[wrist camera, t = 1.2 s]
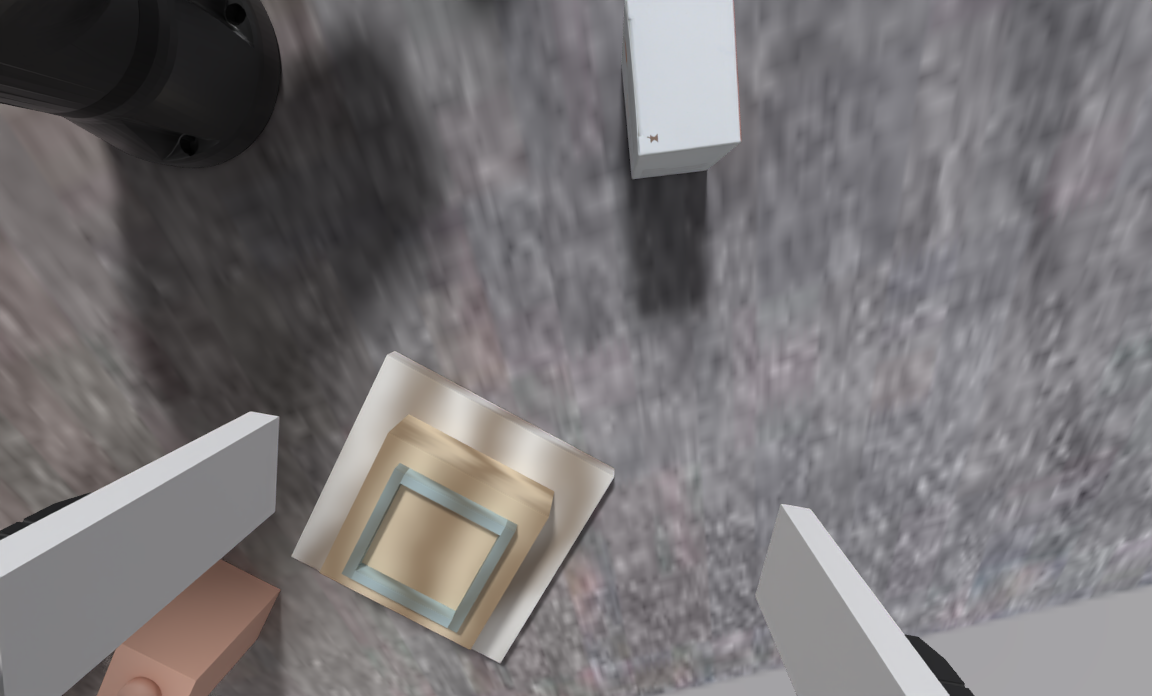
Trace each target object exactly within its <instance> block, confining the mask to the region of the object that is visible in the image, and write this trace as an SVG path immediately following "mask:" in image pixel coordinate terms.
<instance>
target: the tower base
mask: <svg viewBox="0 0 1152 696" xmlns="http://www.w3.org/2000/svg"><path fill="white" fill-rule="evenodd" d="M613 478H614V468H612V467H610V466H608V465H607V464H605V463H603V462H601V461H599V460H597V459H595V458H594V457H592V456H590V455H588V454H586V453H584V452H582V451H580V450H579V449H577V448H575V447H573V446H571V445H569V444H567V443H566V442H564V441H562V440H560V439H558V438H556V437H554V436H553V435H551V434H549V433H547V432H545V431H543V430H541V429H539V428H538V427H536V426H534V425H532V424H530V423H528V422H526V421H525V420H523V419H521V418H519V417H517V416H515V415H513V414H512V413H510V412H508V411H506V410H504V409H502V408H500V407H498V406H497V405H495V404H493V403H491V402H489V401H487V400H485V399H484V398H482V397H480V396H478V395H476V394H474V393H472V392H471V391H469V390H467V389H465V388H463V387H461V386H459V385H457V384H456V383H454V382H452V381H450V380H448V379H446V378H444V377H443V376H441V375H439V374H437V373H435V372H433V371H431V370H430V369H428V368H426V367H424V366H422V365H420V364H418V363H416V362H415V361H413V360H411V359H409V358H407V357H405V356H403V355H402V354H400V353H398V352H396V351H394V352H392V353H390V354H388V355H387V356H386V358H385V360H384V363H383V365H382V367H381V369H380V371H379V373H378V375H377V377H376V379H375V381H374V384H373V386H372V388H371V390H370V392H369V394H368V396H367V398H366V400H365V402H364V405H363V407H362V409H361V411H360V413H359V415H358V417H357V419H356V421H355V423H354V426H353V428H352V430H351V432H350V434H349V436H348V438H347V440H346V442H345V444H344V447H343V449H342V451H341V453H340V455H339V457H338V459H337V461H336V463H335V466H334V468H333V470H332V472H331V474H330V476H329V478H328V480H327V482H326V484H325V487H324V489H323V491H322V493H321V495H320V497H319V499H318V501H317V503H316V505H315V508H314V510H313V512H312V514H311V516H310V518H309V520H308V522H307V524H306V526H305V529H304V531H303V533H302V535H301V537H300V539H299V541H298V543H297V545H296V547H295V550H294V552H293V554H292V556H291V557H293V558H295V559H297V560H299V561H301V562H303V563H305V564H307V565H309V566H311V567H313V568H315V569H317V570H319V571H320V572H319V573H321V574H323V575H325V576H327V577H328V578H330V579H332V580H334V581H336V582H338V583H340V584H342V585H344V586H346V587H348V588H350V589H352V590H354V591H356V592H358V593H360V594H362V595H364V596H366V597H368V598H370V599H372V600H373V601H375V602H377V603H379V604H381V605H383V606H385V607H387V608H389V609H391V610H393V611H395V612H397V613H399V614H401V615H403V616H405V617H407V618H409V619H411V620H413V621H415V622H417V623H418V624H420V625H422V626H424V627H426V628H428V629H430V630H432V631H434V632H436V633H438V634H440V635H442V636H444V637H446V638H448V639H450V640H452V641H454V642H456V643H458V644H460V645H462V646H463V647H465V648H467V649H469V650H471V649H473V650H475V651H477V652H479V653H481V654H483V655H485V656H487V657H489V658H491V659H493V660H495V661H497V662H499V663H501V661H502V660H503V658H504V656H505V655H506V653H507V651H508V650H509V648H510V646H511V645H512V643H513V642H514V640H515V638H516V637H517V635H518V633H519V632H520V630H521V628H522V627H523V625H524V624H525V622H526V620H527V619H528V617H529V615H530V614H531V612H532V611H533V609H534V607H535V606H536V604H537V602H538V601H539V599H540V597H541V596H542V594H543V593H544V591H545V589H546V588H547V586H548V584H549V583H550V581H551V579H552V578H553V576H554V575H555V573H556V571H557V570H558V568H559V566H560V565H561V563H562V561H563V560H564V558H565V557H566V555H567V553H568V552H569V550H570V548H571V547H572V545H573V543H574V542H575V540H576V539H577V537H578V535H579V534H580V532H581V530H582V529H583V527H584V525H585V524H586V522H587V521H588V519H589V517H590V516H591V514H592V512H593V511H594V509H595V507H596V506H597V504H598V503H599V501H600V499H601V498H602V496H603V494H604V493H605V491H606V489H607V488H608V486H609V485H610V483H611V481H612V480H613Z"/></svg>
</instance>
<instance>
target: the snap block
mask: <svg viewBox="0 0 1152 696" xmlns="http://www.w3.org/2000/svg"><path fill="white" fill-rule="evenodd" d="M279 592H280V589H278V588H276V587H274V586H272V585H270V584H268V583H266V582H264V581H262V580H260V579H258V578H257V577H255V576H253V575H251V574H249V573H247V572H245V571H243V570H241V569H239V568H237V567H235V566H233V565H231V564H229V563H227V562H225V561H223V560H221V559H220V560H218V561H217V562H216V563H215V564H214V565H213V566H212V567H210V568H209V569H208V570H207V571H206V572H205V573H203V574H202V575H201V576H200V577H199V578H198V579H196V580H195V581H194V582H193V583H192V584H191V585H189V586H188V587H187V588H186V589H185V590H184V591H183V592H181V593H180V594H179V595H178V596H177V597H176V598H174V599H173V600H172V601H171V602H170V603H169V604H167V605H166V606H165V607H164V608H163V609H162V610H160V611H159V612H158V613H157V614H156V615H155V616H153V617H152V618H151V619H150V620H149V621H148V622H147V623H145V624H144V625H143V626H142V627H141V628H140V629H138V630H137V631H136V632H135V633H134V634H133V635H131V636H130V637H129V638H128V639H127V640H126V641H124V642H123V643H122V644H121V645H120V646H119V647H118V648H116V650H115V652H114V655H113V657H112V660H111V662H110V665H109V667H108V669H107V672H106V674H105V677H104V679H103V682H102V684H101V687H100V689H99V692H98V694H97V696H208V695H209V694H210V693H211V691H212V690H213V689H214V688H215V687H216V686H217V685H218V683H219V682H220V681H221V680H222V679H223V678H224V677H225V675H226V674H227V673H228V672H229V671H230V670H231V669H232V667H233V666H234V665H235V664H236V663H237V662H238V661H239V659H240V658H241V657H242V656H243V655H244V654H245V653H246V651H247V650H248V649H249V648H250V647H251V646H252V645H253V643H254V642H255V641H256V640H257V638H258V636H259V634H260V632H261V630H262V628H263V626H264V623H265V621H266V619H267V617H268V615H269V613H270V611H271V609H272V607H273V605H274V603H275V601H276V598H277V596H278V594H279Z"/></svg>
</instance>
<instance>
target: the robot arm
mask: <svg viewBox="0 0 1152 696" xmlns="http://www.w3.org/2000/svg"><path fill="white" fill-rule="evenodd" d="M279 78H280V62H279V52H278V46H277V41H276V37H275V34H274V30H273V27H272V24H271V22H270V19H269V17H268V15H267V12H266V10H265V8H264V6H263V5H262V3H261V1H260V0H0V103H2V104H7V105H12V106H16V107H21V108H26V109H31V110H36V111H41V112H45V113H50V114H54V115H58V116H62V117H64V118H66V119H67V120H69V121H71V122H73V123H74V124H76V125H78V126H80V127H81V128H83V129H85V130H87V131H88V132H90V133H92V134H94V135H95V136H97V137H99V138H101V139H102V140H104V141H106V142H108V143H109V144H111V145H113V146H115V147H116V148H118V149H120V150H122V151H124V152H126V153H128V154H130V155H133V156H135V157H138V158H141V159H144V160H147V161H151V162H155V163H160V164H166V165H172V166H178V167H186V168H200V167H208V166H213V165H217V164H220V163H222V162H225V161H227V160H229V159H231V158H233V157H235V156H237V155H238V154H240V153H241V152H243V151H244V150H245V149H246V148H247V147H249V146H250V145H251V144H252V143H253V142H254V140H255V139H256V138H257V137H258V136H259V134H260V133H261V132H262V130H263V129H264V127H265V125H266V124H267V122H268V120H269V118H270V116H271V113H272V111H273V108H274V105H275V102H276V98H277V93H278V88H279ZM278 435H279V416H274V415H268V414H262V413H257V412H251V411H250V412H248V413H246V414H244V415H242V416H240V417H239V418H237V419H235V420H233V421H231V422H229V423H227V424H225V425H223V426H221V427H219V428H217V429H215V430H213V431H211V432H209V433H208V434H206V435H204V436H202V437H200V438H198V439H196V440H194V441H192V442H190V443H188V444H186V445H184V446H182V447H180V448H178V449H176V450H175V451H173V452H171V453H169V454H167V455H165V456H163V457H161V458H159V459H157V460H155V461H153V462H151V463H149V464H147V465H145V466H144V467H142V468H140V469H138V470H136V471H134V472H132V473H130V474H128V475H126V476H124V477H122V478H120V479H118V480H116V481H114V482H113V483H111V484H109V485H107V486H105V487H103V488H101V489H99V490H97V491H95V492H93V493H87V494H84V495H81V496H77V497H74V498H71V499H68V500H65V501H61V502H58V503H55V504H53V505H51V506H49V507H47V508H45V509H43V510H41V511H39V512H37V513H35V514H33V515H31V516H29V517H27V518H25V519H24V521H23V522H17V523H15V524H13V525H11V526H9V527H7V528H5V529H3V530H1V531H0V696H62V695H63V694H64V693H65V692H66V691H68V690H69V689H70V688H71V687H72V686H73V685H75V684H76V683H77V682H78V681H79V680H80V679H82V678H83V677H84V676H85V675H86V674H87V673H88V672H90V671H91V670H92V669H93V668H94V667H95V666H97V665H98V664H99V663H100V662H101V661H102V660H104V659H105V658H106V657H107V656H108V655H109V654H111V653H112V652H113V651H114V650H115V649H116V648H118V647H119V646H120V645H121V644H122V643H123V642H124V641H126V640H127V639H128V638H129V637H130V636H131V635H133V634H134V633H135V632H136V631H137V630H138V629H140V628H141V627H142V626H143V625H144V624H145V623H147V622H148V621H149V620H150V619H151V618H152V617H153V616H155V615H156V614H157V613H158V612H159V611H160V610H162V609H163V608H164V607H165V606H166V605H167V604H169V603H170V602H171V601H172V600H173V599H174V598H176V597H177V596H178V595H179V594H180V593H181V592H183V591H184V590H185V589H186V588H187V587H188V586H189V585H191V584H192V583H193V582H194V581H195V580H196V579H198V578H199V577H200V576H201V575H202V574H203V573H205V572H206V571H207V570H208V569H209V568H210V567H212V566H213V565H214V564H215V563H216V562H217V561H218V560H220V559H221V558H222V557H223V556H224V555H225V554H227V553H228V552H229V551H230V550H231V549H232V548H234V547H235V546H236V545H237V544H238V543H239V542H241V541H242V540H243V539H244V538H245V537H246V536H248V535H249V534H250V533H251V532H252V531H253V530H254V529H256V528H257V527H258V526H259V525H260V524H261V523H263V522H264V521H265V520H266V519H267V518H268V517H270V516H271V515H272V514H273V513H274V512H275V506H276V482H277V459H278ZM755 597H756V599H757V601H758V604H759V606H760V609H761V611H762V613H763V616H764V618H765V621H766V623H767V625H768V628H769V630H770V633H771V635H772V637H773V640H774V642H775V644H776V647H777V649H778V652H779V654H780V656H781V659H782V661H783V664H784V666H785V668H786V671H787V673H788V675H789V678H790V680H791V682H792V685H793V687H794V689H795V692H796V695H797V696H974V695H973V693H972V692H971V691H970V690H969V688H965V686H964V682H963V681H962V680H961V678H959V676H958V675H957V673H956V672H955V671H954V670H953V668H952V667H951V666H950V665H949V663H948V662H947V661H946V660H945V659H944V658H943V657H942V656H940V655H939V654H938V653H937V652H936V651H935V650H933V649H932V648H931V647H930V646H929V645H927V644H926V643H925V642H924V641H923V640H921V639H920V638H919V637H916V636H910V635H904V634H903V632H902V631H901V630H900V628H899V627H898V626H897V624H896V623H895V622H894V620H893V619H892V618H891V616H890V615H889V614H888V612H887V611H886V610H885V608H884V607H883V606H882V604H881V603H880V602H879V600H878V599H877V598H876V596H875V595H874V594H873V592H872V591H871V589H870V588H869V587H868V585H867V584H866V583H865V581H864V580H863V579H862V577H861V576H860V575H859V573H858V572H857V571H856V569H855V568H854V567H853V565H852V564H851V563H850V561H849V560H848V559H847V557H846V556H845V555H844V553H843V552H842V551H841V549H840V548H839V547H838V545H837V544H836V543H835V541H834V540H833V539H832V537H831V536H830V535H829V533H828V532H827V531H826V529H825V528H824V527H823V525H822V524H821V523H820V521H819V520H818V519H817V517H816V516H815V515H814V513H813V512H812V510H811V509H808V508H802V507H796V506H790V505H785V504H781V505H780V509H779V512H778V516H777V519H776V523H775V527H774V530H773V534H772V538H771V541H770V545H769V548H768V552H767V556H766V559H765V563H764V566H763V570H762V574H761V577H760V581H759V585H758V588H757V592H756V595H755Z"/></svg>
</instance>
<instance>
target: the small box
mask: <svg viewBox="0 0 1152 696" xmlns="http://www.w3.org/2000/svg"><path fill="white" fill-rule="evenodd" d="M621 67H622V76H623V87H624V98H625V109H626V120H627V131H628V142H629V153H630V164H631V177H632V179H639V178H647V177H656V176H664V175H673V174H681V173H689V172H698V171H706V170H708V169H709V168H710V167H711V166H713V165H714V164H715V163H717V162H718V161H719V160H720V159H721V158H723V157H724V156H725V155H726V154H728V153H729V152H730V151H731V150H733V149H734V148H735V147H736V146H737V145H739V144H740V143H741V141H742V140H741V122H740V105H739V87H738V69H737V50H736V31H735V12H734V0H625V6H624V24H623V46H622V62H621Z"/></svg>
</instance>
